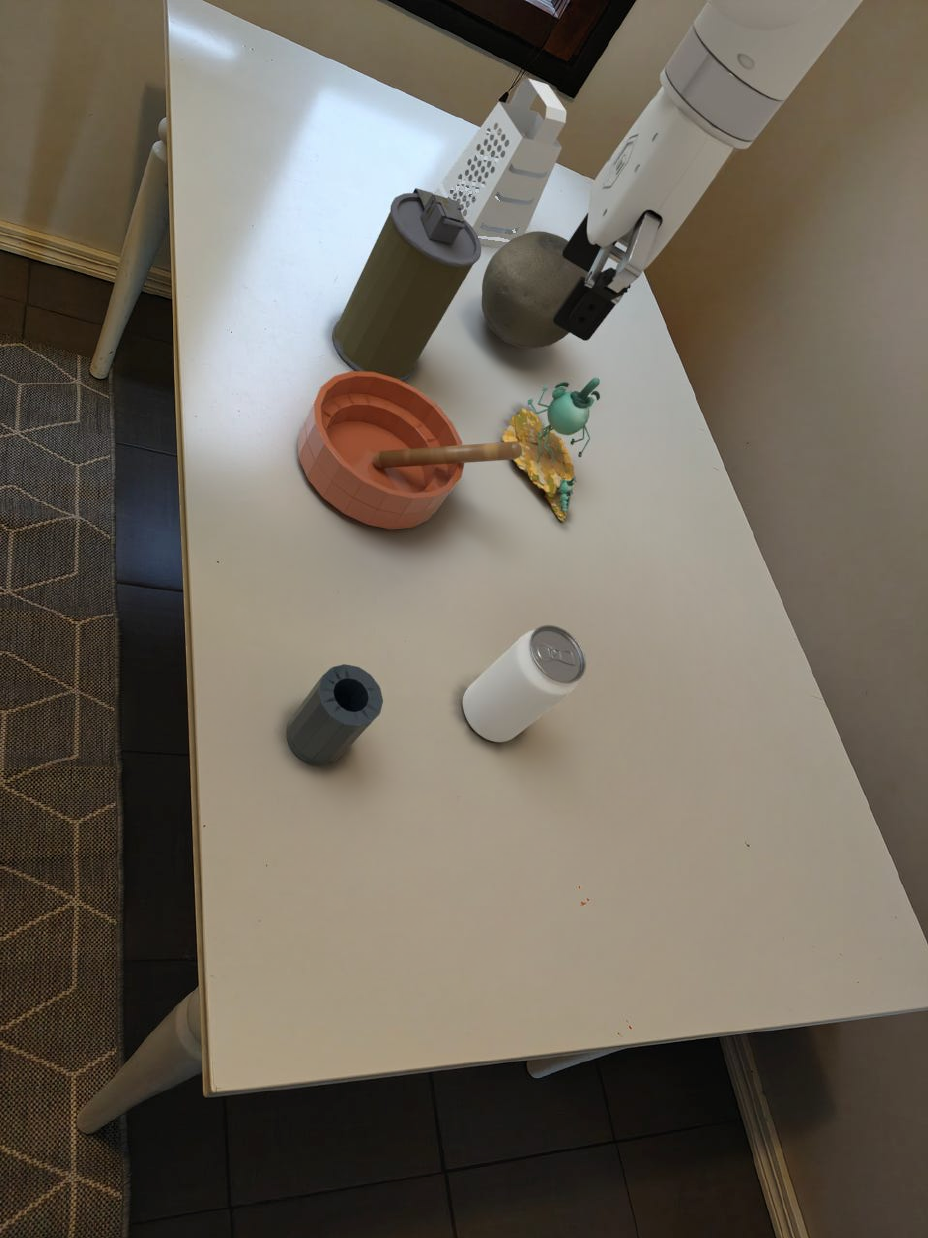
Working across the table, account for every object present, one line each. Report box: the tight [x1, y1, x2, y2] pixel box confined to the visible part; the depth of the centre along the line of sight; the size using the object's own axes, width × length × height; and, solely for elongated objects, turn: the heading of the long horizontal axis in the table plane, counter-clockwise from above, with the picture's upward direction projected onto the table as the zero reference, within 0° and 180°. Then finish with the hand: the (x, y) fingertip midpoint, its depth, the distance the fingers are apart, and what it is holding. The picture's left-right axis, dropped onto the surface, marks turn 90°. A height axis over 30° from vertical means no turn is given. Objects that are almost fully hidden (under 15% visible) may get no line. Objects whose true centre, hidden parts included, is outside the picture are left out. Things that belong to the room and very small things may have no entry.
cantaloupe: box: [480, 230, 588, 349], centre depth 110 cm, size 14×14×15 cm
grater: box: [433, 78, 568, 249], centre depth 121 cm, size 10×10×20 cm
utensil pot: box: [286, 663, 384, 766], centre depth 68 cm, size 5×5×8 cm
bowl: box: [297, 370, 465, 530], centre depth 88 cm, size 16×16×6 cm
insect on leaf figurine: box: [501, 377, 601, 522], centre depth 100 cm, size 10×18×15 cm, turn 5°
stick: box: [373, 441, 522, 468], centre depth 88 cm, size 2×2×16 cm
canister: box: [331, 187, 483, 382], centre depth 94 cm, size 11×10×20 cm
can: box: [462, 624, 587, 743], centre depth 77 cm, size 6×6×12 cm
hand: (573, 295), depth 68 cm, fingers open, 9 cm apart
